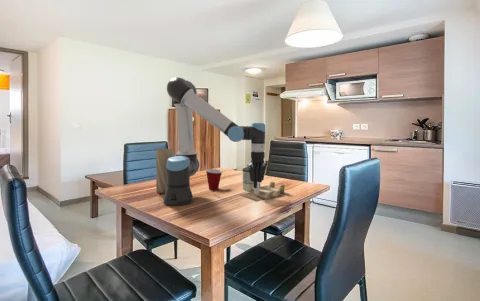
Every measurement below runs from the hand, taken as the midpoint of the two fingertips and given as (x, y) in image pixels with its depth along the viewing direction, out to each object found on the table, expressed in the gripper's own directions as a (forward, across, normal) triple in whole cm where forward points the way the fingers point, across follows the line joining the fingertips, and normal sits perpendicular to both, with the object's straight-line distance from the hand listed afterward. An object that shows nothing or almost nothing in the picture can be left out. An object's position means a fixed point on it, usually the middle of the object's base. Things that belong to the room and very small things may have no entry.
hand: (256, 193), depth 150 cm
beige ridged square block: (+1, +7, 0) cm, 7 cm away
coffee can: (+3, +7, +14) cm, 16 cm away
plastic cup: (+3, -8, +32) cm, 33 cm away
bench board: (+3, +6, 0) cm, 7 cm away
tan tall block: (+3, -35, +45) cm, 57 cm away
